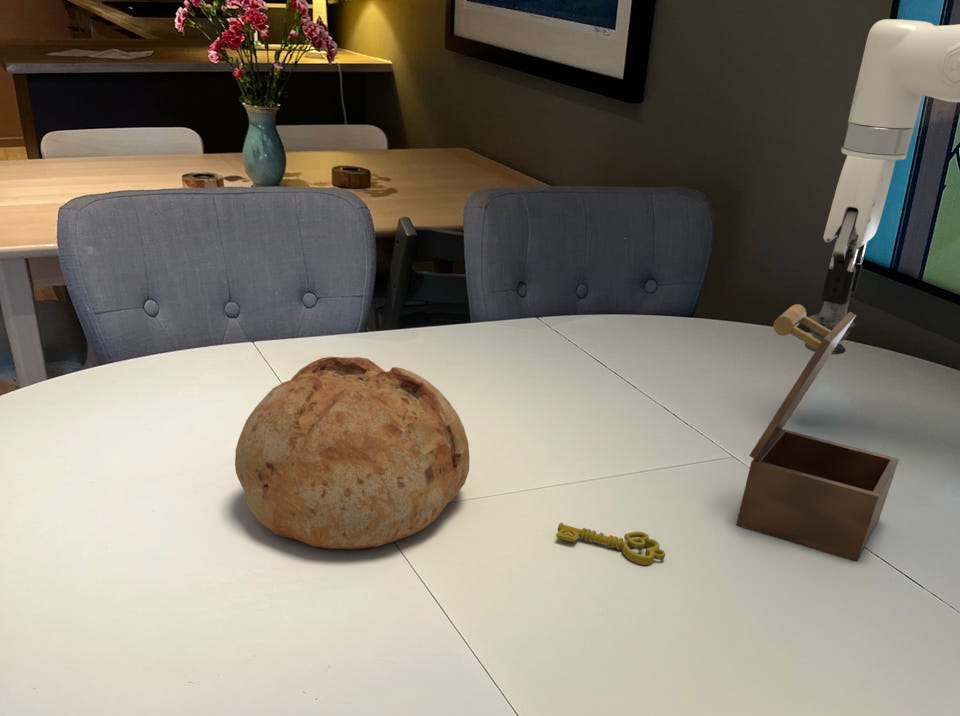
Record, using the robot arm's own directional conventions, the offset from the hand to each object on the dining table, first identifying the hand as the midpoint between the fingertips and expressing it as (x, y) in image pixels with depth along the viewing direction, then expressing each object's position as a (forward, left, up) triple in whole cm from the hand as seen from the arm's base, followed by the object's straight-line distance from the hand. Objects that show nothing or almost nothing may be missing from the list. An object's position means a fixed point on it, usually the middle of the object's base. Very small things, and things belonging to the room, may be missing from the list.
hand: (837, 297), depth 128 cm
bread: (+53, +41, -18) cm, 70 cm away
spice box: (+2, +31, -17) cm, 36 cm away
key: (+24, +43, -18) cm, 52 cm away
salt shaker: (0, 0, -7) cm, 7 cm away
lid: (+6, +29, -2) cm, 30 cm away
